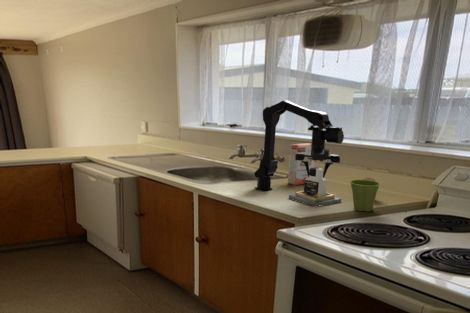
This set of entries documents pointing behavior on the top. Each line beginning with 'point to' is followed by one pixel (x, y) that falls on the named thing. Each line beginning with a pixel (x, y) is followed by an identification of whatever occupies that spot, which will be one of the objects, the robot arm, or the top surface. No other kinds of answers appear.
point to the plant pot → (364, 194)
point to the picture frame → (315, 199)
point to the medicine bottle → (315, 183)
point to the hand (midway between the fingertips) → (315, 177)
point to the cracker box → (299, 164)
